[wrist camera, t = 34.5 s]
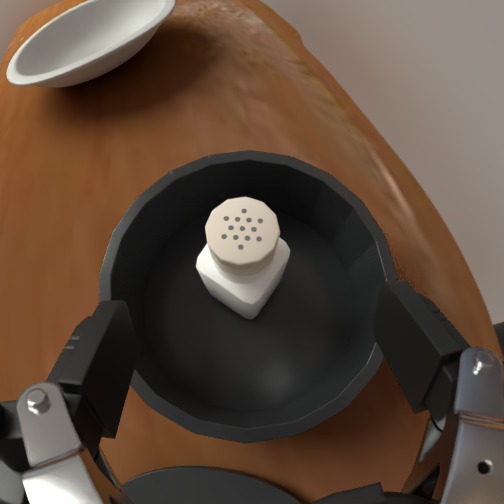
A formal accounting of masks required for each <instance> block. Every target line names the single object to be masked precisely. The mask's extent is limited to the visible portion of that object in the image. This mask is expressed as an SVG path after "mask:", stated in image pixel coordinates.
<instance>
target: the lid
mask: <svg viewBox="0 0 504 504" xmlns="http://www.w3.org/2000/svg"><path fill="white" fill-rule="evenodd" d="M122 487H123V489H124V490H125V492H126V493H127V495H128V497H129V498H130V499H131V501H132V502H133V503H134V504H304V503H302V502H301V501H300V500H299V499H297V498H296V497H295V496H294V495H292V494H290V493H289V492H287V491H286V490H284V489H282V488H281V487H279V486H277V485H274V484H272V483H270V482H268V481H266V480H263V479H261V478H258V477H255V476H252V475H249V474H245V473H242V472H238V471H234V470H228V469H223V468H216V467H206V466H178V467H168V468H162V469H157V470H153V471H150V472H146V473H143V474H140V475H138V476H136V477H134V478H132V479H130V480H128V481H127V482H125V483H124V484H122Z"/></svg>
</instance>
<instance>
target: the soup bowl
mask: <svg viewBox="0 0 504 504" xmlns="http://www.w3.org/2000/svg"><path fill="white" fill-rule="evenodd" d="M175 5H176V0H89V1H87V2H84V3H82V4H80V5H78V6H76V7H74V8H72V9H70V10H68V11H66V12H64V13H62V14H61V15H59V16H57V17H56V18H54V19H53V20H51V21H50V22H48V23H47V24H46V25H44V26H43V27H42V28H40V29H39V30H38V31H37V32H35V33H34V34H33V35H32V36H31V37H30V38H29V39H28V40H27V41H26V42H25V43H24V44H23V45H22V46H21V47H20V48H19V50H18V51H17V52H16V54H15V55H14V56H13V58H12V60H11V62H10V64H9V66H8V69H7V78H8V80H9V82H10V83H12V84H13V85H15V86H32V85H35V86H39V87H46V88H59V87H67V86H72V85H76V84H80V83H83V82H86V81H89V80H92V79H94V78H97V77H99V76H101V75H103V74H105V73H107V72H109V71H111V70H113V69H115V68H116V67H118V66H120V65H121V64H123V63H124V62H126V61H127V60H128V59H130V58H131V57H133V56H134V55H135V54H136V53H137V52H138V51H140V50H141V49H142V48H143V47H144V46H145V45H146V44H147V43H148V41H149V40H150V39H151V38H152V37H153V35H154V34H155V32H156V31H157V29H158V28H159V26H160V24H161V23H163V22H164V21H165V20H166V19H167V18H168V17H169V16H170V14H171V13H172V12H173V10H174V8H175Z"/></svg>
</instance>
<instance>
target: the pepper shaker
mask: <svg viewBox="0 0 504 504" xmlns="http://www.w3.org/2000/svg"><path fill="white" fill-rule="evenodd" d="M205 230H206V237H207V244H206V246H205V247H204V249H203V250H202V252H201V253H200V254H199V256H198V258H197V263H196V268H197V270H198V272H199V274H200V276H201V278H202V280H203V282H204V284H205V286H206V288H207V290H208V291H209V293H210V295H211V296H213V297H214V298H216V299H217V300H219V301H220V302H222V303H223V304H224V305H226V306H227V307H229V308H230V309H232V310H233V311H235V312H236V313H238V314H239V315H241V316H242V317H244V318H246V319H253V318H254V317H256V316H257V315H258V314H259V312H260V311H261V309H262V308H263V306H264V305H265V303H266V302H267V301H268V299H269V298H270V296H271V295H272V293H273V292H274V290H275V289H276V287H277V286H278V284H279V283H280V280H281V278H282V275H283V272H284V270H285V267H286V264H287V262H288V259H289V256H290V248H289V247H288V245H287V244H286V242H285V241H284V240H282V239H281V238H280V237H279V236H280V229H279V225H278V221H277V217H276V214H275V213H274V212H273V211H272V210H271V209H270V208H269V207H268V206H267V205H266V204H265V203H264V202H261V201H258V200H255V199H252V198H248V197H240V198H234V199H228V200H226V201H225V202H223V203H222V204H221V205H219V206H218V207H216V208H215V209H214V210H212V212H211V215H210V217H209V219H208V221H207V224H206V226H205Z"/></svg>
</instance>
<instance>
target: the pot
mask: <svg viewBox="0 0 504 504" xmlns="http://www.w3.org/2000/svg"><path fill="white" fill-rule="evenodd" d="M240 197H248V198H252V199H255V200H258V201H261V202H264V203H265V204H266V205H267V206H268V207H269V208H270V209H271V210H272V211H273V212H274V213H275V214H276V217H277V221H278V225H279V229H280V236H279V237H280V238H281V239H282V240H284V241H285V242H286V244H287V245H288V247H289V248H290V256H289V259H288V262H287V264H286V267H285V270H284V272H283V275H282V278H281V280H280V283H279V284H278V286H277V287H276V289H275V290H274V292H273V293H272V295H271V296H270V298H269V299H268V301H267V302H266V303H265V305H264V306H263V308H262V309H261V311H260V312H259V314H258V315H257V316H256V317H254V318H253V319H246V318H244V317H242V316H241V315H239V314H238V313H236V312H235V311H233V310H232V309H230V308H229V307H227V306H226V305H224V304H223V303H222V302H220V301H219V300H217V299H216V298H214V297H213V296H211V295H210V293H209V291H208V290H207V288H206V286H205V284H204V282H203V280H202V278H201V276H200V274H199V272H198V270H197V268H196V263H197V258H198V256H199V254H200V253H201V252H202V250H203V249H204V247H205V246H206V244H207V237H206V230H205V226H206V224H207V221H208V219H209V217H210V215H211V212H212V210H214V209H215V208H216V207H218V206H219V205H221V204H222V203H223V202H225V201H226V200H228V199H234V198H240ZM393 281H398V278H397V274H396V271H395V267H394V263H393V260H392V256H391V253H390V249H389V246H388V242H387V239H386V238H385V235H384V233H383V232H382V230H381V229H380V227H379V225H378V224H377V222H376V221H375V219H374V218H373V216H372V215H371V213H370V212H369V210H368V209H367V207H366V206H365V204H364V203H363V202H362V201H361V199H359V198H358V197H357V196H356V195H355V194H354V193H352V192H351V191H350V190H349V189H348V188H347V187H345V186H344V185H343V184H342V183H341V182H339V181H338V180H337V179H336V178H335V177H333V176H332V175H331V174H330V175H329V173H327V172H325V171H323V170H321V169H319V168H317V167H314V166H312V165H310V164H308V163H305V162H303V161H301V160H299V159H296V158H294V157H291V156H286V155H280V154H273V153H266V152H259V151H252V150H251V151H250V150H247V151H238V152H230V153H222V154H214V155H209V156H206V157H203V158H201V159H198V160H196V161H193V162H191V163H188V164H186V165H184V166H181V167H179V168H176V169H174V170H172V171H170V172H168V173H167V174H166V175H165V176H163V177H162V178H161V179H160V180H158V181H157V182H156V183H154V184H153V185H152V186H151V187H149V188H148V189H147V190H146V191H145V192H143V193H142V194H141V195H140V196H138V198H136V199H135V201H134V202H133V203H132V205H131V206H130V208H129V209H128V211H127V212H126V213H125V215H124V216H123V218H122V219H121V221H120V222H119V224H118V225H117V227H116V228H115V230H114V231H113V234H112V235H111V238H110V241H109V244H108V248H107V251H106V254H105V257H104V260H103V264H102V267H101V271H100V274H99V303H100V302H101V301H120V300H123V301H125V302H126V304H127V307H128V310H129V313H130V317H131V320H132V323H133V326H134V330H135V333H136V336H137V339H138V345H139V355H138V359H137V363H136V366H135V369H134V372H133V376H132V379H131V382H130V385H131V386H132V388H133V389H134V390H135V391H136V392H137V394H138V395H139V396H140V397H141V398H142V399H143V401H144V402H145V403H146V404H147V405H148V406H149V407H150V408H152V409H153V410H155V411H157V412H158V413H160V414H161V415H163V416H165V417H166V418H168V419H170V420H171V421H173V422H175V423H177V424H178V425H180V426H182V427H184V428H185V429H187V430H189V431H191V432H193V433H195V434H199V435H204V436H209V437H214V438H219V439H224V440H230V441H236V442H242V443H252V442H259V441H266V440H272V439H278V438H284V437H289V436H294V435H299V434H301V433H303V432H305V431H307V430H309V429H311V428H313V427H314V426H316V425H318V424H320V423H322V422H323V421H325V420H327V419H329V418H331V417H332V416H334V415H336V414H337V413H339V412H341V411H342V410H344V408H346V407H347V406H348V405H349V404H350V403H351V402H352V401H353V400H354V399H355V397H356V396H357V395H358V394H359V393H360V392H361V391H362V390H363V388H364V387H365V386H366V385H367V384H368V383H369V381H370V380H371V379H372V378H373V377H374V375H375V374H376V373H377V371H378V370H379V368H380V366H381V363H382V361H383V358H384V354H383V353H382V351H381V349H380V347H379V345H378V344H377V342H376V340H375V337H374V333H373V321H374V316H375V311H376V306H377V301H378V296H379V290H380V287H381V285H382V283H385V282H393Z"/></svg>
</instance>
